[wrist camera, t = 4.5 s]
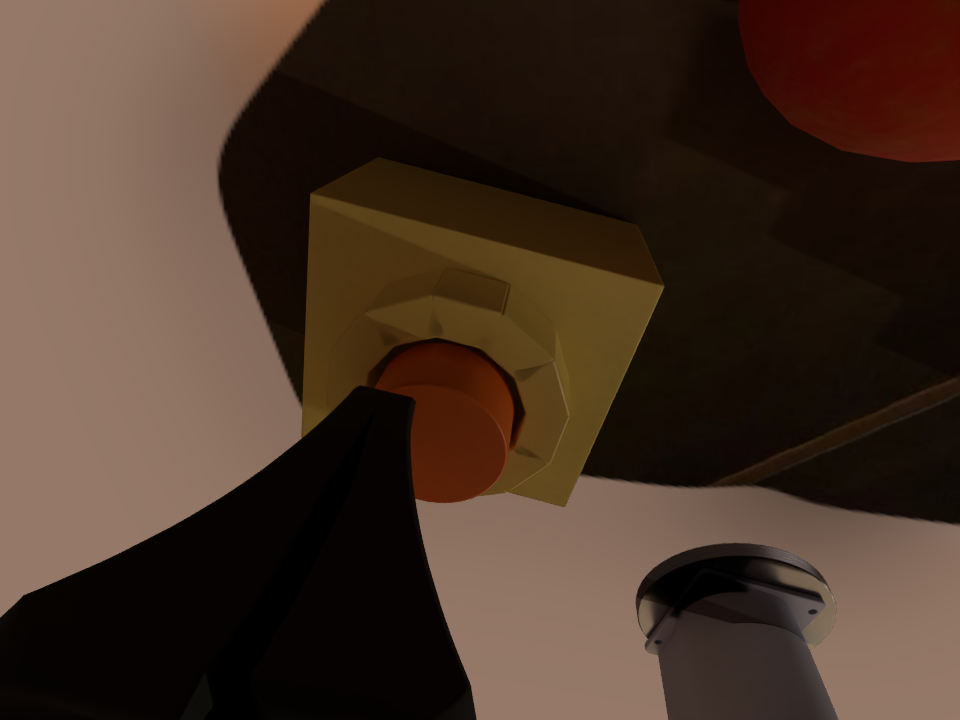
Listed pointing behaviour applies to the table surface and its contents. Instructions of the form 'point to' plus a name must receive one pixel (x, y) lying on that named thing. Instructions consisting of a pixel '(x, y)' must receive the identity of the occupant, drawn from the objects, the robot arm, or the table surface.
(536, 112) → the table surface
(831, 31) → the apple
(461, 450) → the trigger button
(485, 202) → the button housing
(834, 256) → the table surface
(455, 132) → the table surface
